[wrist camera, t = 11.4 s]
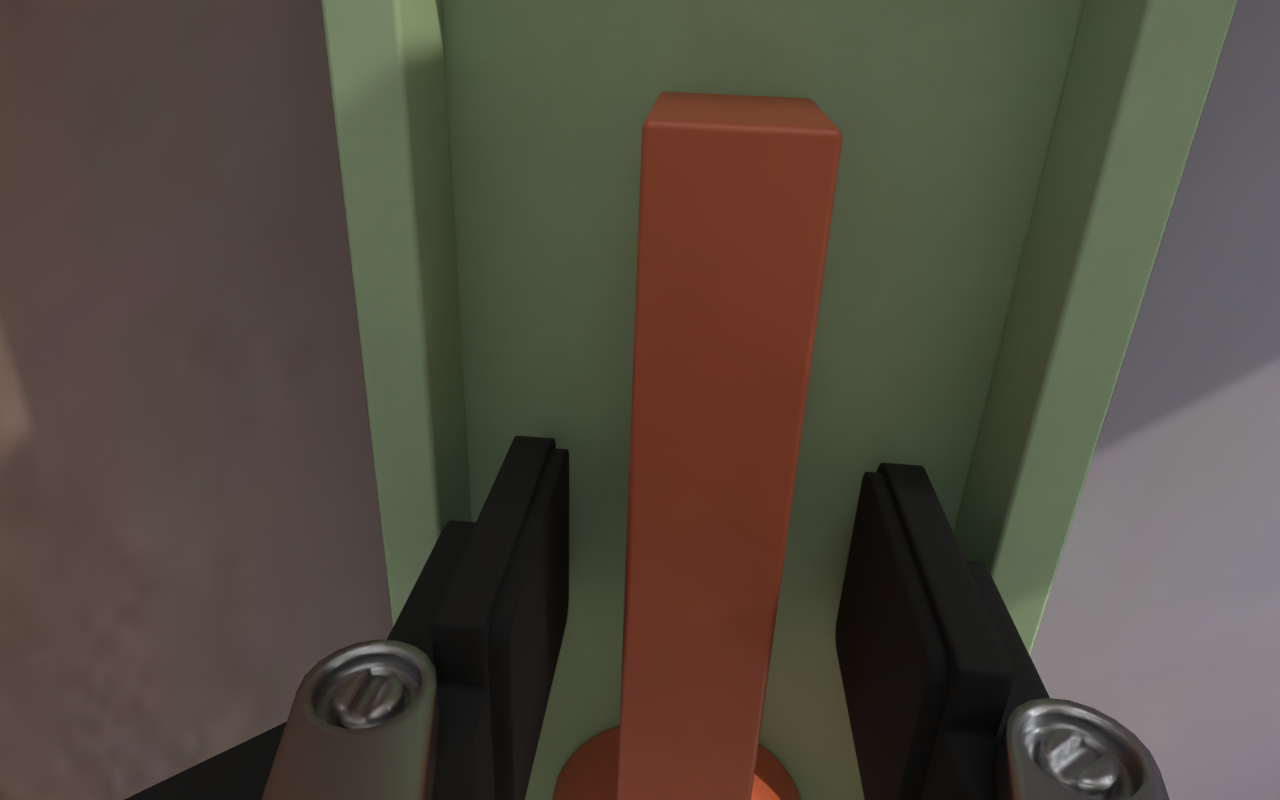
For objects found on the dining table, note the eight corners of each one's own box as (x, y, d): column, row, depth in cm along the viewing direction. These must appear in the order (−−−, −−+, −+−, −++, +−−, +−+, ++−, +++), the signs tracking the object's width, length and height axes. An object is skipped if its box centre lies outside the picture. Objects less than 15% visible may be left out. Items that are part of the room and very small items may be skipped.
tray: (348, -458, 8) (251, -577, 6) (1263, -443, 8) (1420, -565, 6) (464, 927, 18) (437, 1027, 16) (878, 971, 17) (896, 1077, 15)
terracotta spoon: (547, 84, 10) (497, 111, 8) (929, 103, 10) (995, 136, 7) (554, 875, 16) (529, 1018, 14) (786, 898, 16) (798, 1048, 14)
